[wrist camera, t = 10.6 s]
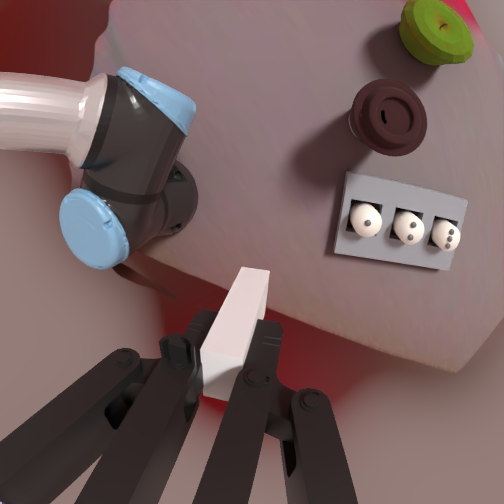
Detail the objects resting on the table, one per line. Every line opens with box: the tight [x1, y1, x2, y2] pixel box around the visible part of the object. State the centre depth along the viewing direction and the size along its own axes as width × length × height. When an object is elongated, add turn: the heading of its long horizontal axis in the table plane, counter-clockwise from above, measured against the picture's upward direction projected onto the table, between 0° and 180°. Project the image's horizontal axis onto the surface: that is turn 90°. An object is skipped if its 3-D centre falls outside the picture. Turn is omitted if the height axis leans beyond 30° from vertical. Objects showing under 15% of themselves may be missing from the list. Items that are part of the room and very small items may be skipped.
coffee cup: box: [349, 79, 427, 156], centre depth 33 cm, size 10×10×15 cm
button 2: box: [392, 210, 424, 245], centre depth 42 cm, size 5×5×5 cm
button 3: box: [430, 218, 460, 252], centre depth 41 cm, size 5×5×5 cm
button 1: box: [349, 202, 382, 237], centre depth 43 cm, size 5×5×5 cm
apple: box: [399, 0, 474, 66], centre depth 25 cm, size 12×12×11 cm
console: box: [333, 171, 468, 271], centre depth 43 cm, size 24×14×2 cm, turn 86°
